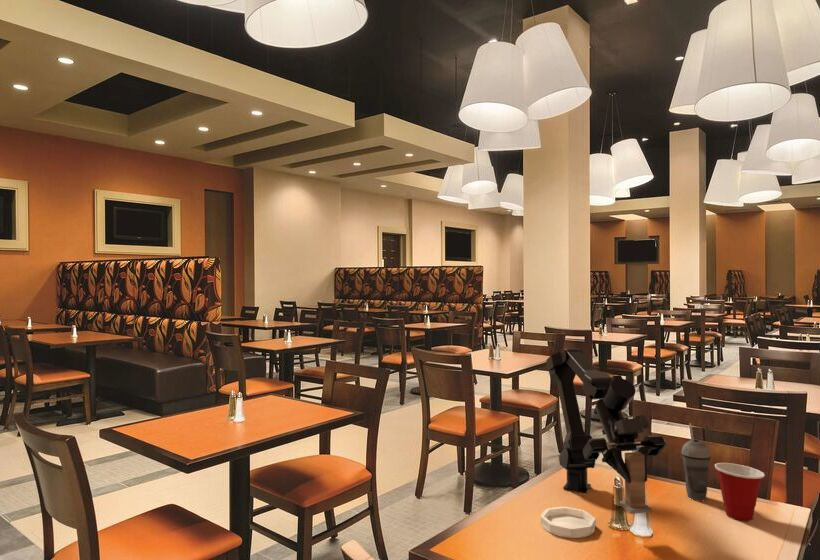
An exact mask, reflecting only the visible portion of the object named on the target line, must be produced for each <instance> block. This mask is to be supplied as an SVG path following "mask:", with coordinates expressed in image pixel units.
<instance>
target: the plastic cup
mask: <svg viewBox="0 0 820 560" xmlns="http://www.w3.org/2000/svg"><path fill="white" fill-rule="evenodd" d="M714 467H715V470H716V473H717V477H718V478H717V479H718V480H719V486H720V492H721V498H722V502H723V506H724V511H725V514H726V516H727V517H729V518H730V519H733V520H736V521H740V522H741V521H743V522H748V521H752V520H753V518H754V515H755V510H756V505H757V502H758V501H757V500H758V496H759V489H760V486H761V483H762V480H763V479H764V477H765V476H766V475H765V472H763V471H761V470H759V469H756V468H754V467H751V466H747V465H742V464H738V463H732V462H731V463H729V462H717V463H715V464H714Z"/></svg>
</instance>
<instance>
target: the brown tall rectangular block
mask: <svg viewBox="0 0 820 560" xmlns="http://www.w3.org/2000/svg"><path fill="white" fill-rule="evenodd" d="M624 463H625V465H626V468H627V470H628V472H629V475H630V478H631V482H630V483H628V482H627V481H626V480H625V479H624V500H620V501H619V506H620V507H622V508H623V509H625V510H626V512H627V513H629V514H631V515H632V514H644V513H647V514H648V513H652V511H653V510H652V508H651V507H650V506H649V505H647V504H646V482H645V455H643V454H641V453H640V452H632V451H629V452H624Z"/></svg>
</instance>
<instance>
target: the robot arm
mask: <svg viewBox="0 0 820 560" xmlns="http://www.w3.org/2000/svg"><path fill="white" fill-rule="evenodd" d="M545 367H546V370H547V371H548V374H549V377H550V379H551V381H553V383H555V384H556V386H557V389H558V395H559V401H560V406H561V410H562V416H563V421H564V426H565V431H566V435H565V437H564V440H563V443H562V446H563V450H561V452H560V455H559V456H558V461H559V465H560V466H561V467H562V468H563V469H565V470H566V484H565V485H563V487H562V489H563V490H566V491H571V492H577V493H583V494H586V493H588V491H589V490H590V489H591V486H592V484H590V483H588V481H589V480H588V469H594V468H595V465H596V460H597V459H598V458H599V456H600V453H601V454H602V458H601V461H602V463H606V464H607V465H608V466H610V467H611V469H613V470H615V472H617V474H619V476H621V478H622V479H623V480H624V481H625V480H626V481H627V482H628V483H630V482H631V478H630V475H629V472H628V470H627V468H626V465H625V460H624V459H623V454H622V453H623V452H640V453H641V454H643V455H645V483H647V481H648V465H647V460H648V457H656V456H659V455H660V454H661V453H662V451H663V450H664V448H666V447H667V442H666V440H665V438H664V437H663V435H660V434H653V435H651V434H650V435H646V436H645V437H644V438H643V439H642V440H641V441H636V440H637V439H638V438H639V434H641V433H642V434H643V433H645V432H644V431H646V430H648V429H649V428H650V422H649V420H648V418H647V416H646V415H645V414H644V415H643V414H642V415H641V414H640V415H639V414H638V415H637V416H635V418H628V417H625V414H624V412H623V411H624V410H625V409H626V408H627V407H628V405H629V404H630V402H631V401H632V400H633V398H634V396H635V395H636V387H635V385H633V384H632V383H631V382H630V381H629V380H627V379H624V378H623V376H622V375H620V374H619V375H618V374H616V375H612V376H610V375H609V374H607V373H606V372H603V371H599V370H597V369H596V368H595V367H594V365H592V363H591V362H590V361H589V360H588V359H587V358H586V356H584V355H583V352H582V350H581V349H580V348H577V347H576V348H564V349H562V350H561V351H558V352H557V353H554V354H551V355H549V357H548V358H547V359H546V361H545ZM576 376H577V377H578V379H579V380H580V381H581V382H582V387H581V388H582V391H583V393H584V395H585V396H586V398H587V399H589V400H598V401H597V403H595V407H594V410H593V415H598V417H599V421H600V423H601V425H602V430H601V432H602V435H603V436H604V435H605V436H606V439H607V440H606V439H605V438H604V437H602V438H601V437H599V438H597V437H596V438H593V437H592V436H591V435H592V434H588V433H587V432H586V431H585V430H584V424H583V422H582V417H581V412H580V408H579V407H580V406H579V402H578V397H577V394H576V387H575V385H574V384H575V383H574V381H575V378H576Z"/></svg>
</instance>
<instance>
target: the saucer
mask: <svg viewBox="0 0 820 560" xmlns="http://www.w3.org/2000/svg"><path fill="white" fill-rule="evenodd" d="M540 524H541V526H542V528H543V529H544V530H545V531H546V532H547V533H549V534H552V535H555V536H557V537H559V538H560V537H561V538H566V539H567V538H568V539H583V538H588V537H590V536H592V535H593V534H594V533H595V531H596V517H594V516H593V515H592V514H590V513H589V512H588V511H586V510H583V509H579V508H574V507H570V506H557V507H550V508H546V509H545V510H544V511H543V512H542V514H541V515H540Z"/></svg>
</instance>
